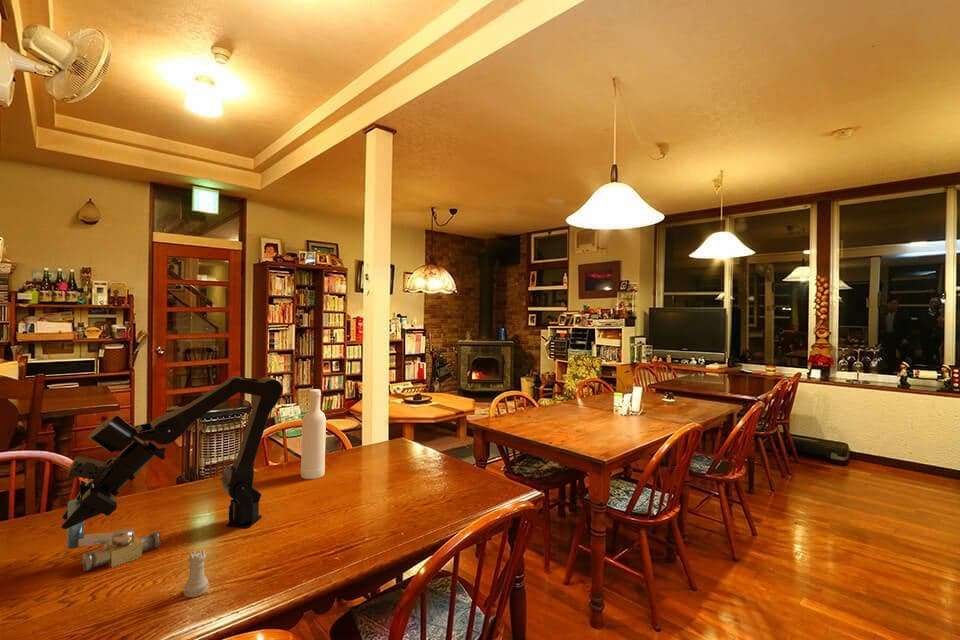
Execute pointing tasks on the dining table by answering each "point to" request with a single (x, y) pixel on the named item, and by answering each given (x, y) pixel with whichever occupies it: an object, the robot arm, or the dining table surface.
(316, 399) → the bottle
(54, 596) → the dining table surface
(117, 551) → the valve body
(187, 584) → the rook chess piece
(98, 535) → the lever
